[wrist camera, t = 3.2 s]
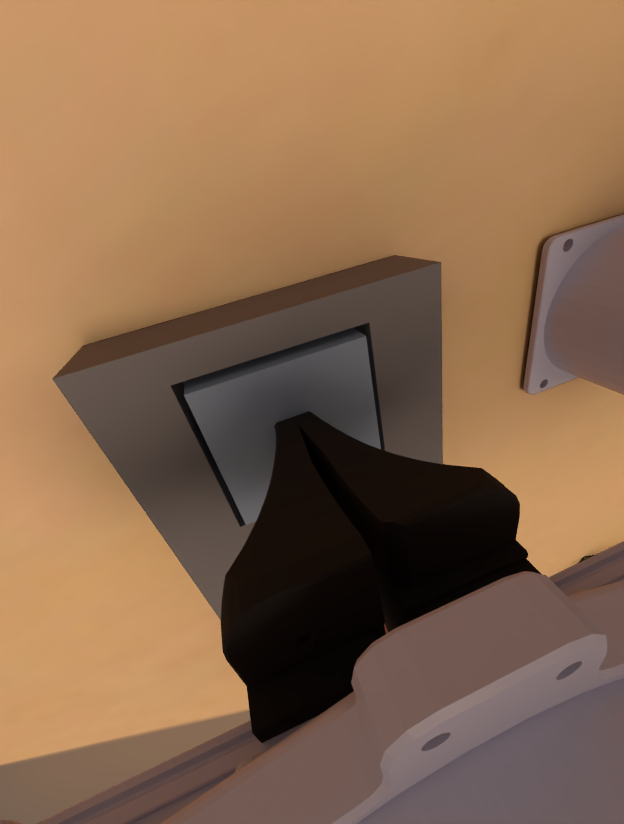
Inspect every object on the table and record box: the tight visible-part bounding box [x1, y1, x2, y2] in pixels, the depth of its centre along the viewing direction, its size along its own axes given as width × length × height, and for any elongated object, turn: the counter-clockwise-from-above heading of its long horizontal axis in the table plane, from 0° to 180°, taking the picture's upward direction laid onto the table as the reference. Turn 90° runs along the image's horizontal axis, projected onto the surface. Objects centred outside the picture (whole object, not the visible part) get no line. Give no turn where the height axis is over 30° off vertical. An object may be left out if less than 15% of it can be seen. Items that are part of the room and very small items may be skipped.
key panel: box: [53, 255, 443, 620], centre depth 18 cm, size 12×26×3 cm, turn 13°
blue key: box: [184, 328, 381, 525], centre depth 13 cm, size 6×6×2 cm
